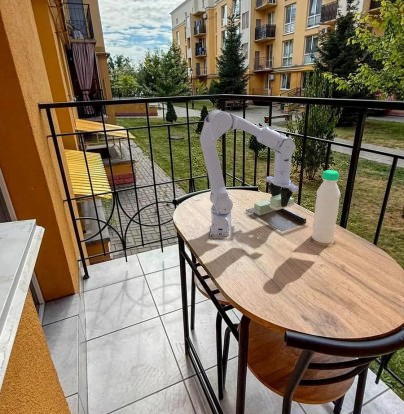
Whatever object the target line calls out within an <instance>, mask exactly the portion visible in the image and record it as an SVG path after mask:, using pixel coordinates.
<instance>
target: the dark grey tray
mask: <svg viewBox="0 0 404 414" xmlns="http://www.w3.org/2000/svg"><path fill="white" fill-rule="evenodd" d="M266 200H267V201H270V199H266ZM253 210H254V207H251V208H248V209H245V211H246V212H248V213H250V214H251V215H253V216H254V217H257V218H258V219H259V220H261V221H263V222H265V223H267V224H268V225H270V226H271V227H273V228H276V230H278V231H280V232H284V231H285V232H286V231H288V230H291V229H294V228H297V227H300V226H302V225H305V224H307V218H306V217H305V216H303V215H300V214H298V213H297V212H294V211H292V210H290V209H288V208H287V207H286V208H282V209H279V210H276V211H273V212H270V213H266V214H263V215H260V216H259V215H258V214H256V213H254V212H253Z"/></svg>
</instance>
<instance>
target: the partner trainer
mask: <svg viewBox="0 0 404 414" xmlns="http://www.w3.org/2000/svg"><path fill="white" fill-rule="evenodd" d="M267 200H268V199H265V200H261V201H258V202H254V204H253V205H254V206H253V208H254V210H253V212H254V213H256V214H258V215H259V216H260V215H263V214H266V213H270V212H273V211H276V210H275V209H273V208H271V207H269V204H270V200H269V201H267Z"/></svg>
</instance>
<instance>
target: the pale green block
mask: <svg viewBox="0 0 404 414" xmlns="http://www.w3.org/2000/svg"><path fill="white" fill-rule="evenodd" d="M269 201H270V204H269V207H271V208H273V209H275V210H279V209H282V208H286V209H287V208H289V207H292V206H295V197H292V196H291V197H290V199H289V201H288V204H287V206H285V207H282V206H281V194H280V195H276V196H272V195H271V196H270V199H269Z"/></svg>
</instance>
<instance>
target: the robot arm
mask: <svg viewBox="0 0 404 414" xmlns="http://www.w3.org/2000/svg"><path fill="white" fill-rule="evenodd" d="M230 129H231V130H236V129H239V130H241V131H244V132H246V133H249V134H250V135H252V136H254V137H255V138H256V141H257V142H258V143H259V144H261V145H264V146H266V147H268V148H270V149H271V150H274V164H273V165H274V166H273V176H271V175H269V176H266V177H265V178H266V179H265V182H266V183H270V184H268V185H267V188H268V190H269V192H270V195H271V197H272V196H276V195H280V194H281V206H282V207H285V206H287V204H288V201H289V199H290V197H292V195H293V193H294V194H295V193H298V191H299V186H298V185H296V184H295V183H293V182H292V180H291V167H292V158H293V157H292V156H293V153H294V152H295V150H296V147H297V146H296V145H295V141H294V140H293V138H290V137H288V136H285V134H284V133H283V132H278V131H276V130H274V127H272V126H270V125H268V126H263V127H260V126H258V125H256V124H254V123H252V122H250V121H248V120H247V119H245V118H243V117H241V116H239V115H236V114H233V113H229V112H227V111H223V110H221V109H217V108H216V109H213V110H211V111H210V112H209V113H208V114H207V115H206V117H205V118H204V122H203V126H202V129H201V132H200V135H199V142H200V147H201V151H202V155H203V159H204V163H205V168H206V172H207V177H208V181H209V185H210V188H209V189H210V194H209V200H210V202H211V203H212V205H211V208H210V211H211V212H210V214H211V215H210V217H211V228H210V233H209V239H213V240H214V239H216V240H220V238H219V237H229V236H230V232H231V230H232V210H233V206H234V203H233V201H232V199H231V198H230V196H229V192H228V190H227V188H226V184H225V180H224V176H223V175H224V174H223V171H222V166H221V161H220V157H219V152H218V147H217V141H218V140H219V138H221V136H222V135H224V134H225V133H227V132H228V131H229V130H230ZM215 236H216V237H215ZM218 236H219V237H218Z"/></svg>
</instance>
